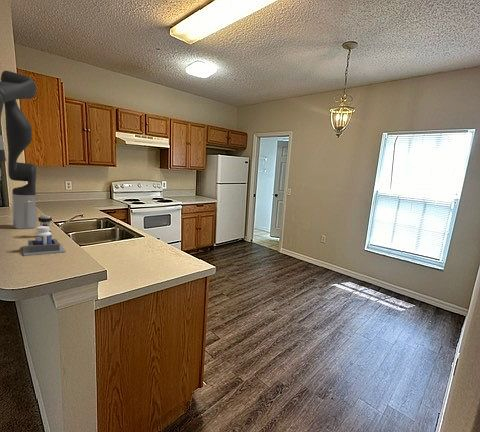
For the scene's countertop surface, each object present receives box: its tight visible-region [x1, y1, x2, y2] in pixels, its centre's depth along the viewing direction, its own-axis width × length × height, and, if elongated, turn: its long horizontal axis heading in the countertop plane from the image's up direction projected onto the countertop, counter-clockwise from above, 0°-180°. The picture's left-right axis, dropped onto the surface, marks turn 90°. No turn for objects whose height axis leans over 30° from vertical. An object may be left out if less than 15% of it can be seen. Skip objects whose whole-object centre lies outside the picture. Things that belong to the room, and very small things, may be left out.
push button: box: [37, 214, 53, 233], centre depth 122 cm, size 7×5×10 cm
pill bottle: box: [34, 226, 53, 245], centre depth 104 cm, size 5×5×9 cm
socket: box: [21, 238, 66, 257], centre depth 105 cm, size 13×13×3 cm
